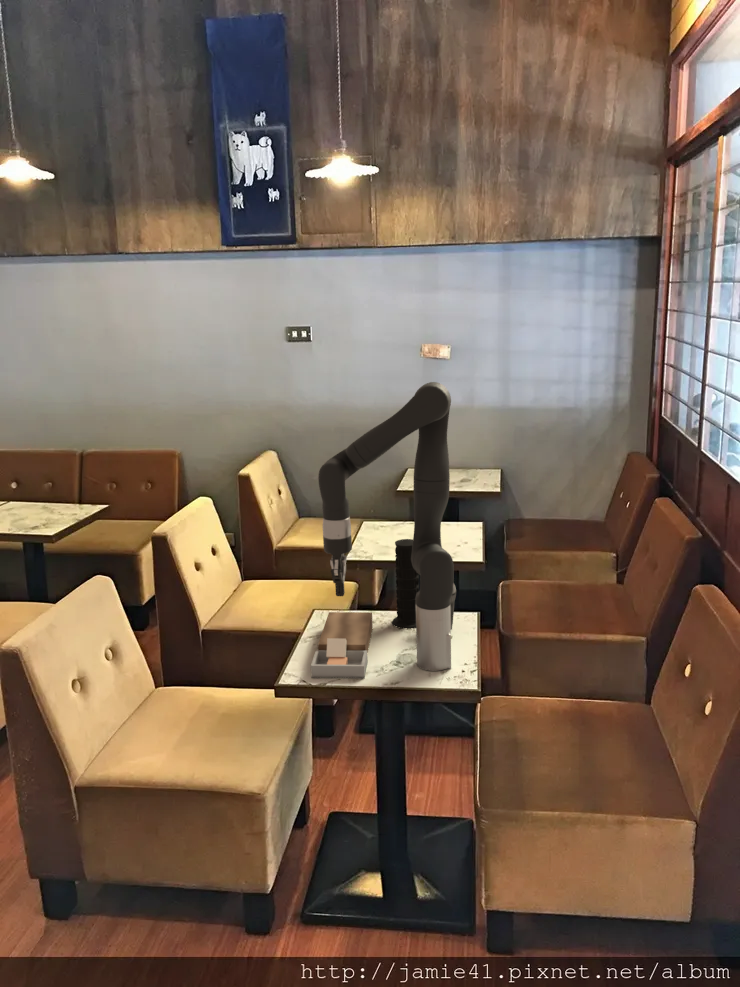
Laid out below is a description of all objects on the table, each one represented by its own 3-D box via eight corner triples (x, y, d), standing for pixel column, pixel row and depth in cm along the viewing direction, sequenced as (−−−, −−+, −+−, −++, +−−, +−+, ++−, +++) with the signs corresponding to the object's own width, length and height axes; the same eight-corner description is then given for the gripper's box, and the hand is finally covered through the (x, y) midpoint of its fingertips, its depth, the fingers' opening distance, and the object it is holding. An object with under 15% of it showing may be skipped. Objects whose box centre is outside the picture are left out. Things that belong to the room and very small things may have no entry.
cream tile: (346, 641, 223) (345, 638, 220) (345, 659, 221) (344, 656, 218) (328, 640, 223) (327, 638, 221) (327, 658, 221) (326, 656, 219)
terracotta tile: (345, 665, 214) (345, 674, 215) (347, 657, 219) (347, 666, 219) (326, 665, 214) (326, 674, 215) (329, 657, 219) (329, 665, 220)
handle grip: (409, 613, 256) (385, 622, 249) (407, 532, 249) (382, 539, 243) (431, 622, 248) (407, 631, 242) (430, 538, 242) (405, 546, 236)
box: (367, 662, 223) (367, 650, 222) (364, 678, 213) (364, 666, 212) (316, 661, 224) (316, 650, 223) (311, 677, 215) (310, 665, 214)
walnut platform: (372, 628, 245) (372, 612, 244) (365, 661, 223) (365, 644, 222) (329, 627, 246) (329, 612, 245) (318, 661, 224) (317, 644, 223)
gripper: (348, 541, 209) (351, 604, 214) (353, 526, 222) (356, 586, 226) (319, 541, 210) (323, 604, 214) (326, 526, 223) (329, 586, 227)
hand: (340, 595), depth 220 cm, fingers closed
